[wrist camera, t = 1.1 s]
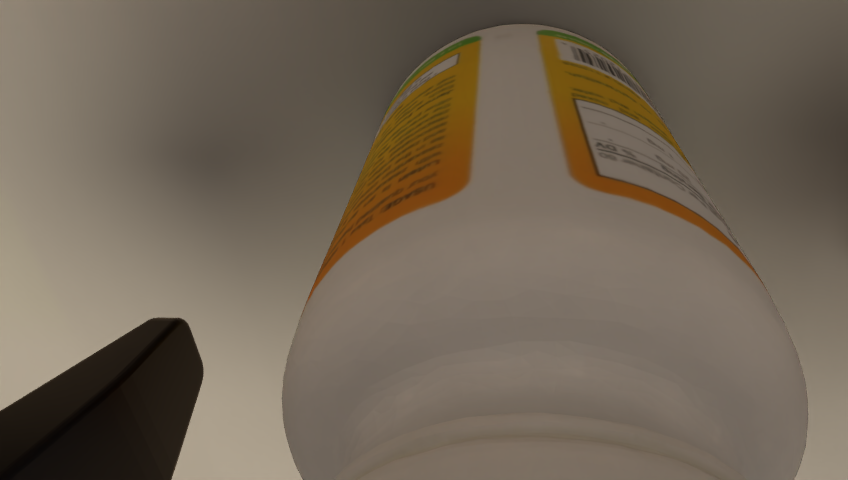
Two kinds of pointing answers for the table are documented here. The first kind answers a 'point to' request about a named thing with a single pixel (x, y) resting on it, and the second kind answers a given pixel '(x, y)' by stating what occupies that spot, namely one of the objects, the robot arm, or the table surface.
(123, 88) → the table surface
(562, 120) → the supplement bottle
